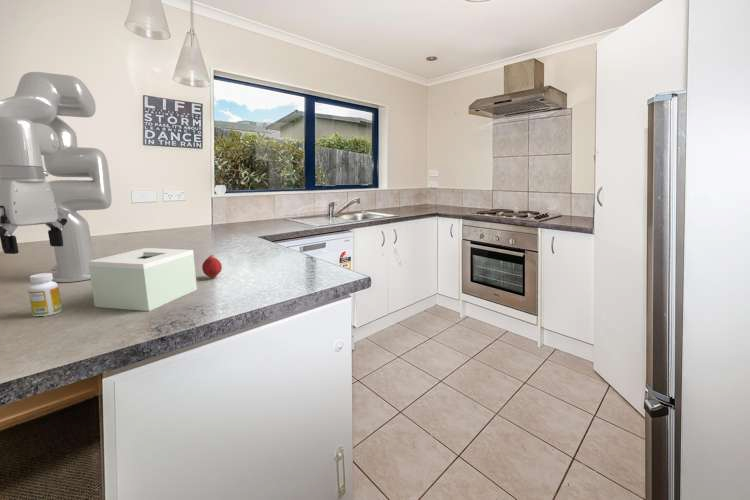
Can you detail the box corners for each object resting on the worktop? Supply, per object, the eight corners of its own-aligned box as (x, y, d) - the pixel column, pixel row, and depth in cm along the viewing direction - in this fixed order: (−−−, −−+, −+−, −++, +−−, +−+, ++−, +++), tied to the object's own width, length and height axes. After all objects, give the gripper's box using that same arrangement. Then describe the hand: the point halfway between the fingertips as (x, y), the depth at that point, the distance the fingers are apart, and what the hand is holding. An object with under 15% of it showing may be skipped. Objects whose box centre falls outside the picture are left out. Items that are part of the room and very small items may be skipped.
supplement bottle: (58, 307, 92) (51, 270, 90) (65, 312, 89) (59, 274, 87) (29, 314, 87) (22, 275, 86) (36, 319, 84) (29, 279, 83)
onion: (215, 281, 116) (213, 256, 114) (199, 280, 117) (197, 256, 115) (226, 276, 121) (224, 253, 120) (210, 275, 123) (208, 252, 121)
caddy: (95, 306, 93) (87, 261, 90) (150, 286, 110) (145, 247, 108) (149, 311, 90) (143, 264, 87) (196, 289, 107) (193, 250, 105)
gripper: (49, 176, 91) (60, 243, 94) (-41, 174, 74) (-24, 256, 77) (74, 175, 89) (84, 244, 92) (-12, 173, 72) (4, 257, 75)
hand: (35, 249), depth 85 cm, fingers open, 9 cm apart
